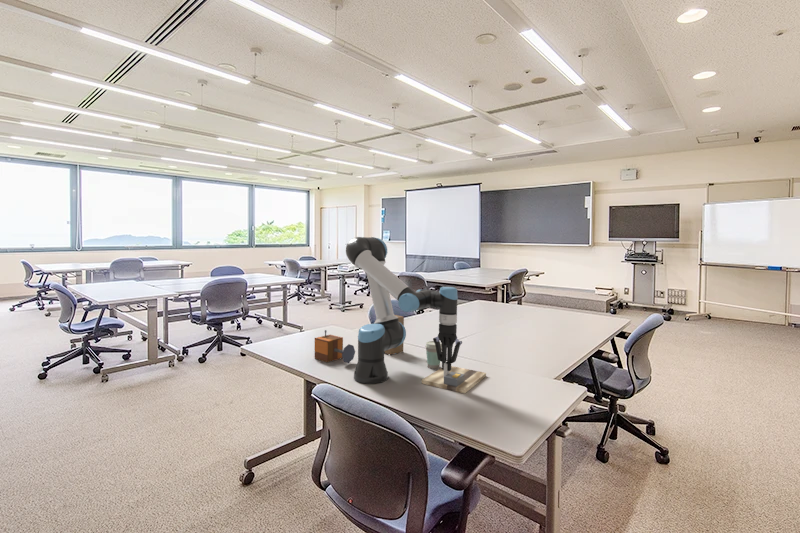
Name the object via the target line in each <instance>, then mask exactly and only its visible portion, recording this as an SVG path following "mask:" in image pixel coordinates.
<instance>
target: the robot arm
mask: <svg viewBox="0 0 800 533" xmlns="http://www.w3.org/2000/svg"><path fill="white" fill-rule="evenodd" d="M345 255H346V257H347V259H348V260H349V261H350V263H352V264H353V265H354V266H355V267H356V268H357V269H361V270H362V271H363V272H365V273H366V276H367V277H366V278H367V280H368V285H369V290H370V294H371V298H372V299H371V300H372V303H373V308H374V312H375V316H376V317H375V318H376V319H375V321H374V323H371V324H370V323H367V324H364V325H363V326H361V327H360V328H358V332H357V333H358V335H357V355H358V356H357V363H356V367H355V369H354V372H353V380H355V382H358V383H360V384H372V385H373V384H379V383H382V382H385V381H386V382H387V380H388V377H389V373H388V372H389V371H388V369H387V365H386V363H385V353H384V351H386V350H389V349H392V348H396V347H398V346H399V345H401V344H402V343H403V344H404V342H405V340H406V336H407V330H406V327H405V324H404V325H402V323H400V322H399V320H398V317H397V316H395V315H396V314H395V312H394V309H393V304H392V300H391V296H392V297H393V298H394V299H395V300H396V301H397V302H398V306H399V309H400V310H401V311H403V312H406V313H409V312H410V313H411V312H416V311H418V310H423V309H427V308H429V309H430V308H431V309H432V308H433V309H438V311H439V316H438V322H439V324H438V334H437V336H436V337H433V338H432V341H434V343H435V346H436V352H437V357H438V360H439V361H440V363H441V368H442V370H444V376H446V375H448V374H449V371H450V370H451V366H452V364H454V363H455V362H457V358H458V354H459V351H460V348H461V345H462V344H463V341H462V340H459V339H458V336H457V329H458V328H457V326H458V325H457V322H458V300H459V297H458V288H456V287H454V286H440V287H439V290H431V289H426V288H424V289H422V288H421V289H417V290H416V291H414V290H413V289H412V288H411V287H409V286H408V285H407V284H406V283H405V282H404V281H403V280H401V278H399V277H398V276H396V274H394V273H393V272H392V271H391V270H390V269H389V268H388V267H387V266H385V264H386V257H387V255H388V246H387V244H386V242H385V241H384V240H383V239H381V238H379V237H375V236H373V237H372V236H371V237H364V236H356V237H354V238H351V239H350V240H349V241H348V242H347V244H346V246H345ZM390 295H391V296H390ZM440 342H441V343H442V351H441V346H440ZM454 345H455V346H454ZM453 347H454V348H453ZM443 378H444V377H443Z"/></svg>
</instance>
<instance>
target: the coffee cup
mask: <svg viewBox="0 0 800 533" xmlns="http://www.w3.org/2000/svg"><path fill="white" fill-rule="evenodd" d="M425 343H426V344H425V346H424V347H425V351H426V363H427V364H426V365H427V368H428V369H432V370H437V369H438V370H439V369H440V367H441V361H439V360H438V357H437V352H436V346H435V343H434V341H433V340H429V341H427V342H425ZM440 346H441V351H442V343H441V341H440Z"/></svg>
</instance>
